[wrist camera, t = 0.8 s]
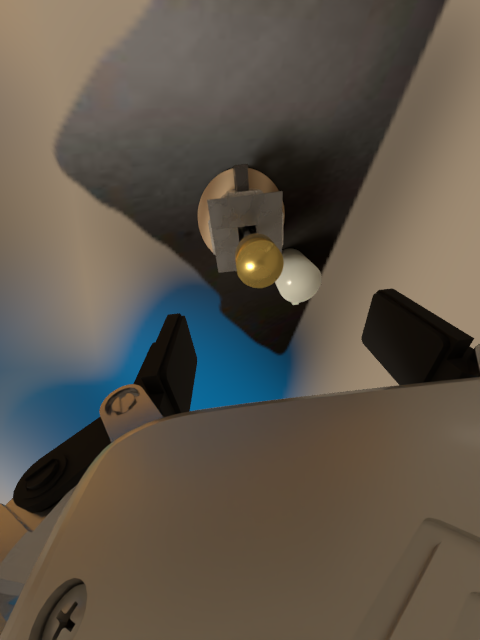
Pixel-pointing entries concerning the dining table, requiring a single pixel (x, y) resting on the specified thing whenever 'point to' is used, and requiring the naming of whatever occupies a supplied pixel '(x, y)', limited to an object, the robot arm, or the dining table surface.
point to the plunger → (257, 258)
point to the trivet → (220, 187)
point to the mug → (298, 277)
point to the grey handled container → (243, 217)
